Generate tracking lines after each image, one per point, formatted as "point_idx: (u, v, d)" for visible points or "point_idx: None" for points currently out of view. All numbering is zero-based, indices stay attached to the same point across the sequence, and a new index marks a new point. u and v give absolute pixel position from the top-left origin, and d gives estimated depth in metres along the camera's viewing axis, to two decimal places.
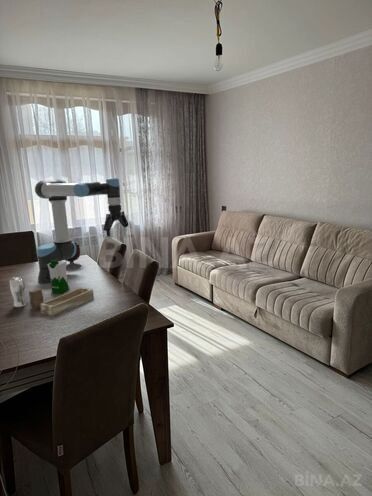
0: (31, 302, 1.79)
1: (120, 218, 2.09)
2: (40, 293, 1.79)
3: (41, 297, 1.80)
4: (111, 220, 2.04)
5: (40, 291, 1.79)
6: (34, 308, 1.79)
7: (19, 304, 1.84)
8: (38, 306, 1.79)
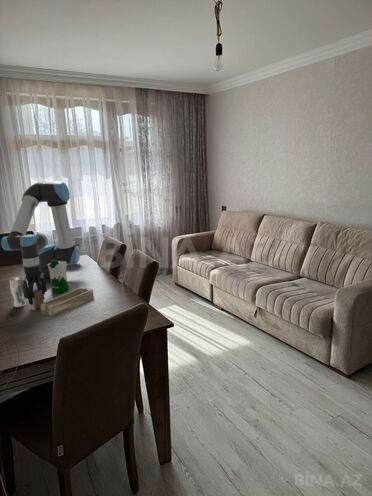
0: None
1: (38, 281, 1.78)
2: (40, 293, 1.79)
3: (41, 297, 1.80)
4: (30, 285, 1.76)
5: (40, 291, 1.79)
6: None
7: (19, 304, 1.84)
8: (38, 306, 1.79)
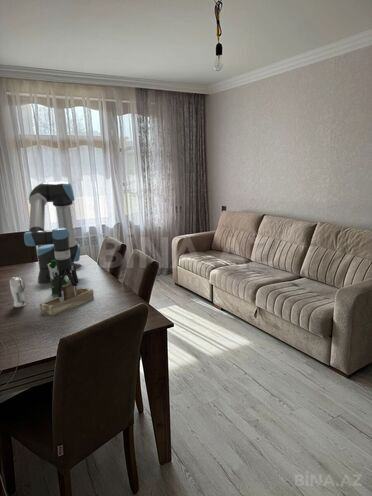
0: None
1: (69, 274, 1.81)
2: (71, 288, 1.82)
3: (72, 292, 1.83)
4: (60, 277, 1.78)
5: (71, 286, 1.82)
6: None
7: (19, 304, 1.84)
8: None
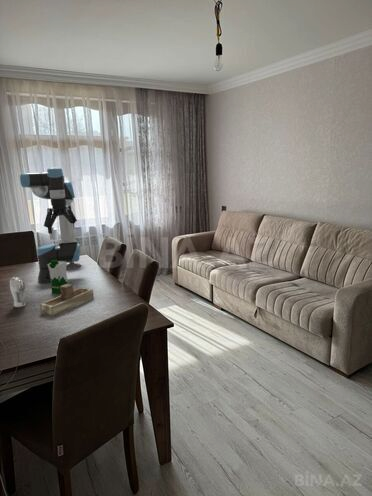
0: (62, 297, 1.82)
1: (65, 213, 1.87)
2: (71, 288, 1.82)
3: (72, 292, 1.83)
4: (54, 215, 1.82)
5: (71, 286, 1.82)
6: None
7: (19, 304, 1.84)
8: None
